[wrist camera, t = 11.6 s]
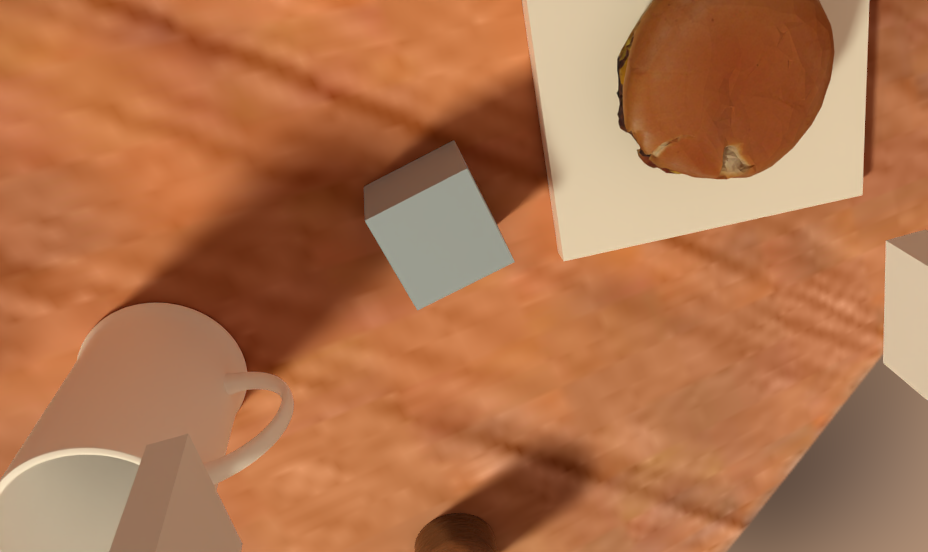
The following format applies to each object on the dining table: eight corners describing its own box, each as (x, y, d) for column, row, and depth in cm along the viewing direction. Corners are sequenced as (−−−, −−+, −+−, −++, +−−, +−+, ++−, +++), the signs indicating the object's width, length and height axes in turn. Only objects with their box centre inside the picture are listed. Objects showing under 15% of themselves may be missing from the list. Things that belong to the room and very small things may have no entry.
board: (510, -75, 34) (515, -75, 33) (858, -147, 35) (874, -149, 34) (558, 252, 41) (563, 261, 40) (849, 188, 42) (862, 195, 41)
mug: (284, 273, 40) (257, 403, 29) (324, 410, 43) (313, 572, 33) (52, 319, 39) (-64, 470, 28) (112, 455, 43) (29, 634, 32)
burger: (781, -76, 35) (839, -76, 31) (817, 116, 39) (873, 140, 34) (574, 13, 35) (603, 25, 31) (631, 193, 39) (664, 226, 35)
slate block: (363, 186, 39) (364, 220, 34) (453, 139, 38) (467, 168, 34) (410, 267, 41) (417, 310, 36) (496, 224, 40) (514, 261, 36)
